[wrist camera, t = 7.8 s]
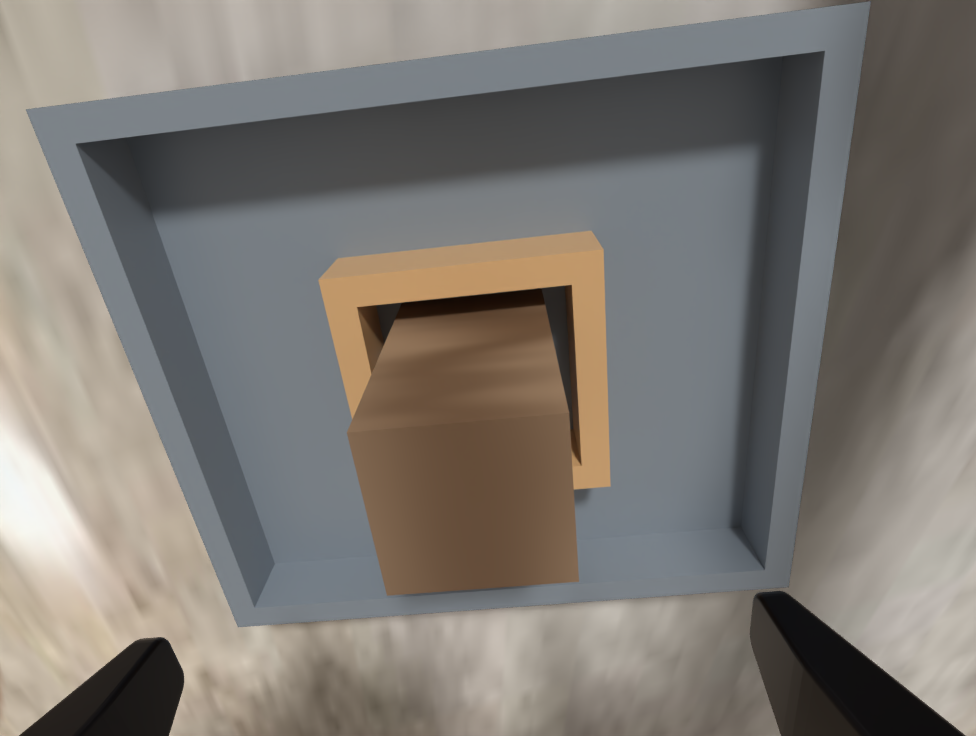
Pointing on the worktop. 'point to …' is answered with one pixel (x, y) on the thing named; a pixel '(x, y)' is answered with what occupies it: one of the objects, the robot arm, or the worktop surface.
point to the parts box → (484, 287)
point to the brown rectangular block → (468, 448)
